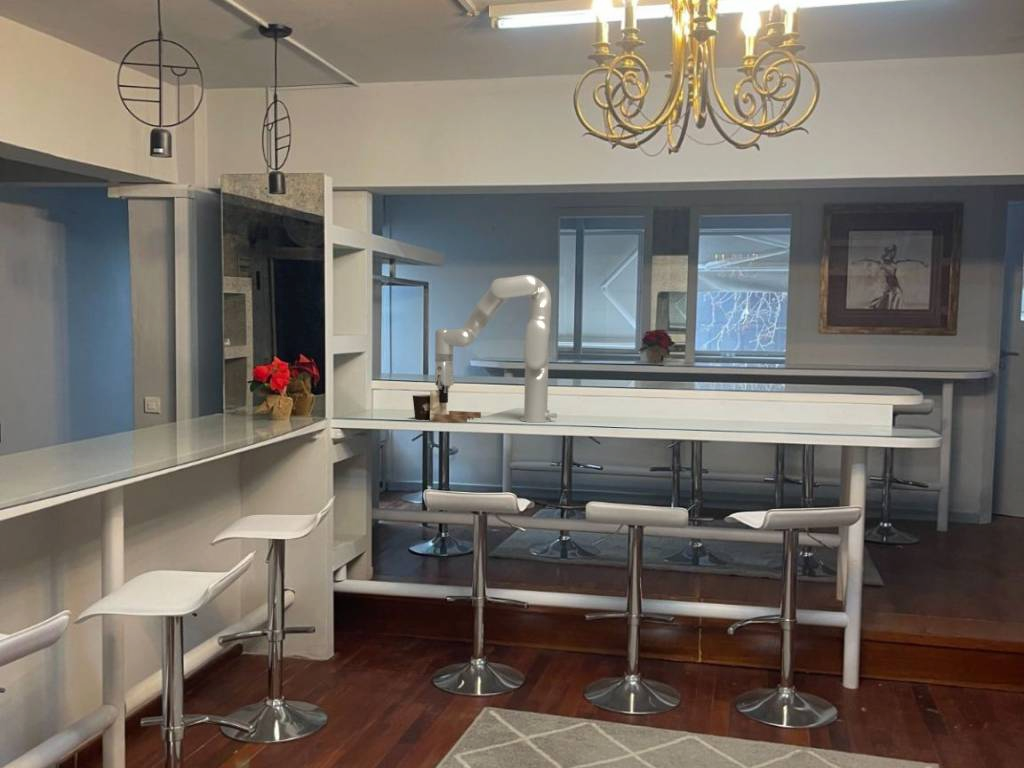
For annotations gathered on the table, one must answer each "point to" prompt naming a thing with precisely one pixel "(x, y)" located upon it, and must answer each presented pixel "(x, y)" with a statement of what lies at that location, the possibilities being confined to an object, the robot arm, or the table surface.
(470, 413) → the mug holder
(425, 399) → the coffee mug
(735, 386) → the table surface
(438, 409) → the ejector plate
